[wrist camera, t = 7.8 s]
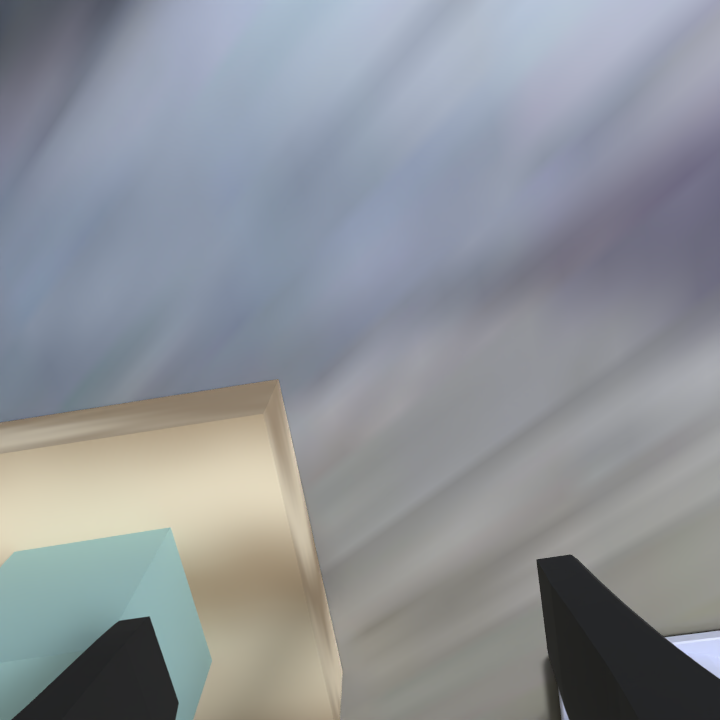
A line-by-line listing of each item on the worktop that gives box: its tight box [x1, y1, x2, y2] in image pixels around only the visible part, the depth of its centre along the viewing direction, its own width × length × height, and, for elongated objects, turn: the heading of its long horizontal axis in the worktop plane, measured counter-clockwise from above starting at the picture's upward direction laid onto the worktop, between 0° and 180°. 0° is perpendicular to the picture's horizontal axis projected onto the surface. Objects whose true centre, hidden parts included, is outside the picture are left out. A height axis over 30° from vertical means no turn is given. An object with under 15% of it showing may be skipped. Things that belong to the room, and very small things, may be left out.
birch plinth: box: [0, 379, 343, 720], centre depth 22 cm, size 12×12×3 cm
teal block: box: [0, 527, 212, 720], centre depth 18 cm, size 5×5×5 cm
